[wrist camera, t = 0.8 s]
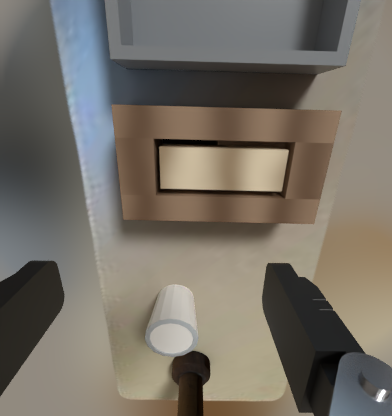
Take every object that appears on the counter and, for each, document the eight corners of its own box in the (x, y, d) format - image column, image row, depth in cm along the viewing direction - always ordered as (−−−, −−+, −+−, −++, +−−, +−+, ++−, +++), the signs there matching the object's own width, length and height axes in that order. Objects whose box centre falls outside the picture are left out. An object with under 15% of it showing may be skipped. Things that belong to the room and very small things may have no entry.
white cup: (148, 308, 37) (138, 350, 31) (161, 275, 35) (153, 313, 28) (188, 320, 38) (187, 362, 32) (204, 288, 36) (206, 328, 29)
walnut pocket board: (136, 199, 30) (123, 219, 24) (129, 105, 26) (111, 104, 20) (292, 203, 30) (314, 223, 25) (310, 110, 26) (341, 110, 20)
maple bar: (163, 181, 25) (160, 188, 23) (162, 143, 24) (159, 147, 22) (273, 184, 25) (281, 191, 23) (279, 146, 24) (288, 150, 22)
